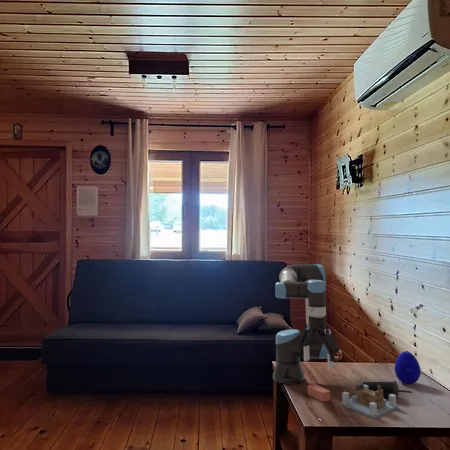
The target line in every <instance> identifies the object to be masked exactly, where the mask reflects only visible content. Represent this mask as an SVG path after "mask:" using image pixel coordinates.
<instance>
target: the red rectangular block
mask: <svg viewBox="0 0 450 450" xmlns="http://www.w3.org/2000/svg"><path fill="white" fill-rule="evenodd" d="M307 395H309V396H310V395H311V396H310V397H312V396H313V397H312V398H314V397H315V398H314V399H316V398H317V399H316V400H318V399H319V400H318V401H321V402H322V401H323V403H325V401H326V402H328V401H331V391H330V390H328V389H326V388H324V387H323V386H320V385H318V384H316V383H312V384H309V385H307Z"/></svg>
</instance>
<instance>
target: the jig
mask: <svg viewBox="0 0 450 450" xmlns="http://www.w3.org/2000/svg"><path fill="white" fill-rule="evenodd" d="M364 388H366V389H369V387H368V385H365V384H364ZM341 396H342V397H341V398H342V399H341V400H342V401H341V402H340V406H342V407H345V408H348V409H350V410H353V411H355V412H357V413H359V414H361V415H365V416H367V417H368V418H371V419H374V420H375V419H377V418H380V417H382V416H384V415H385V414H387V413H390V412H392V411H395V410H397V409H399V405H398V404H397V400H396V395H394V394H390V395H389V398H388V401H387V398H386V399H385V398H383V402H384V407H382V408H380V409H377V403H374V402H371V403H369V406H367V405H364V404H361V403H359V402H358V397H357V396H356V395H351V398H350V393H349V392H347V391H343V392H342V393H341Z"/></svg>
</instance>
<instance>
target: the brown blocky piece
mask: <svg viewBox="0 0 450 450" xmlns="http://www.w3.org/2000/svg"><path fill="white" fill-rule="evenodd" d="M355 396H357V397H358V402H359V403H361V404H364V405H367V406H369V403H371V402H374V403H377V409H380V408H382V407H384V402H383V399H384V397H383V389H381V386H380V385H377V391H372V390H369V389H366V388H364V384H363V382H359V383H358V384H355Z"/></svg>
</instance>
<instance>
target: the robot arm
mask: <svg viewBox="0 0 450 450" xmlns="http://www.w3.org/2000/svg"><path fill="white" fill-rule="evenodd" d="M278 278H279V282H276V283H275V284H274V285H275V288H274V289H275V290H274V291H275V292H274V293H275V297H276V298H277V299H283V300H285V299H305V320H306V322H305V323H306V324H303V331H302V333H301V331H300V330H299V329H293V328H292V329H291V328H290V329H285V330H280V331H279V332H277V334H276V335H275V343H274V344H275V356H276V357H275V358H276V359H275V362H276V363H275V366H274V369H273V370H274V371H273V373H272V380H273V381H275V382H276V383H279V384H284V385H296V384H300V383H303V382H304V381H305V374H304V371H303V368H302V365H301V359H303V362H308V361H310V359H314V360H315V359H318V360H322V359H325V360H326V359H327V370H333V369H334V362H335V354H336V353H337V354H338V353H339V349H338V347H337V344H336V341H335V339H334V335H333V331H332V329H331V328H329V329H328V328H326V325H327V306H326V305H327V304H326V302H327V300H326V297H327V296H326V289H327V288H326V285H327V277H326V270H325V267H324V266H323V264H318V263H313V264H310V263H309V264H302V263H300V264H298V263H294V264H290V265H288V266H286V267H284V268H282V270H281V271H280V272H279V275H278Z"/></svg>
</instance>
